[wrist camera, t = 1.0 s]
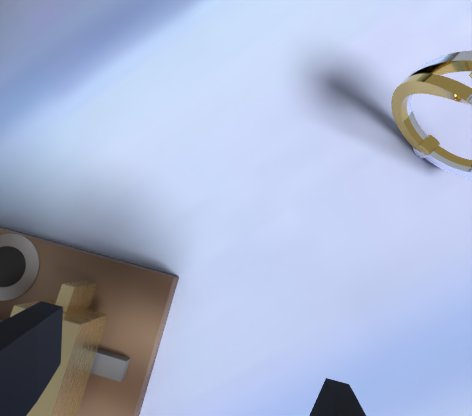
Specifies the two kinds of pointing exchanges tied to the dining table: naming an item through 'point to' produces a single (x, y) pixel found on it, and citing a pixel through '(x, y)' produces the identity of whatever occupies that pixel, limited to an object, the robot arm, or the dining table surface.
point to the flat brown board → (105, 300)
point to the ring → (434, 84)
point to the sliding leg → (71, 349)
